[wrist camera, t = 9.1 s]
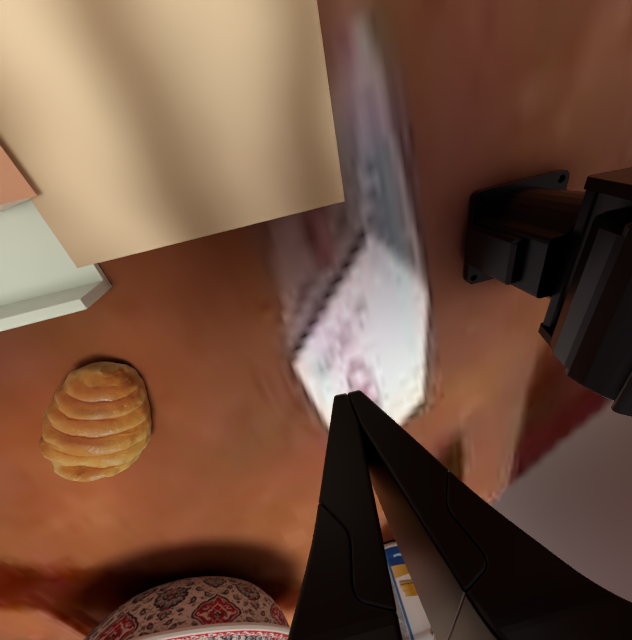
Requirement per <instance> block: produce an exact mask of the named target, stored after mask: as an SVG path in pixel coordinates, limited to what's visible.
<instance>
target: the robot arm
mask: <svg viewBox="0 0 632 640" xmlns="http://www.w3.org/2000/svg"><path fill="white" fill-rule="evenodd" d="M559 177H560V178H559ZM558 179H559V180H558ZM568 179H569V172H568V171H567V170H556V171H552V172H549V173H545V174H541V175H537V176H533V177H529V178H525V179H521V180H517V181H513V182H509V183H505V184H501V185H497V186H493V187H489V188H486V189H482V190H478V191H476V192H475V193H474V194H473V195H472V197H471V200H470V211H469V223H468V229H467V239H466V252H465V273H464V280H465V281H466V282H468V283H470V284H474V283H478V282H482V281H486V280H489V279H493V278H495V279H497V280H499V281H500V282H502V283H504V284H506V285H510V284H511V285H513V286H515V287H517V288H519V289H521V290H523V291H525V292H527V293H529V294H531V295H533V296H535V297H537V298H543V297H548V298H550V299H551V300H550V303H549V306H548V310H547V313H546V316H545V319H544V322H543V323H541V325H540V328H539V331H538V332H539V333H540V334H541V336H542V337H543V338H544V339H545V341H546V342H547V343H548V344H549V345H550V347H551V348H552V351H553V354H554V355H555V356H556V357H557V358H558V359H559V361H560V362H561V363H562V364H563V365H564V366H565V367H566V369H565V373H566V374H567V375H568V376H569V377H570V378H571V379H573V380H574V381H576V382H577V383H579V384H580V385H582V386H583V387H585V388H587V389H589V390H591V391H593V392H595V393H597V394H599V395H601V396H603V397H606V398H608V399H611V400H613V401H614V403H613V405H612V407H611V408H612V410H613V411H615V412H617V413H619V414H624V415H627V416H632V167H631V168H626V169H620V170H615V171H610V172H605V173H600V174H594V175H589V176H588V177H587V180H586V183H585V187H584V189H586V192H580V191H571V190H566V187H567V183H568ZM480 196H481V200H480V201H479V202H478V198H479V197H480ZM472 275H473V277H472V278H471V276H472ZM371 482H372V483H371ZM372 485H373V487H374V489H375V492H376V494H377V497H378V499H379V502H380V504H381V506H382V509H383V511H384V514H385V516H386V519H387V521H388V523H389V526H390V528H391V531H392V533H393V536H394V538H395V541H396V543H397V545H398V548H399V550H400V553H401V555H402V558H403V560H404V562H405V565H406V567H407V570H408V572H409V575H410V577H411V579H412V582H413V584H414V587H415V589H416V592H417V594H418V596H419V599H420V601H421V604H422V606H423V609H424V611H425V614H426V616H427V618H428V621H429V623H430V626H431V628H432V631H433V633H434V635H435V638H436V640H632V602H630V601H627V600H625V599H623V598H621V597H619V596H617V595H615V594H613V593H612V592H610V591H608V590H606V589H604V588H602V587H601V586H599V585H598V584H596V583H594V582H593V581H591V580H589V579H588V578H586V577H585V576H583V575H582V574H580V573H578V572H577V571H576V570H574V569H573V568H572V567H571V566H569V565H567V564H566V563H565V562H564V561H562V560H561V559H560V558H558V557H557V556H556V555H554V554H553V553H552V552H551V551H549V550H548V549H547V548H545V547H544V546H542V545H541V544H540V543H539V542H537V541H536V540H535V539H533V538H532V537H531V536H529V535H528V534H526V533H525V532H524V531H523V530H521V529H520V528H519V527H517V526H516V525H515V524H513V523H512V522H511V521H509V520H508V519H507V518H505V517H504V516H503V515H502V514H500V513H499V512H498V511H497V510H495V509H494V508H493V507H491V506H490V505H489V504H488V503H486V502H485V501H484V500H482V499H481V498H480V497H479V496H478V495H477V494H476V493H474V492H473V491H472V490H471V489H470V488H469V487H467V486H466V485H465V484H464V483H463V482H462V481H461V480H459V479H458V478H457V477H456V476H455V475H454V474H453V473H452V472H450V471H448V469H447V468H446V467H445V466H444V465H443V464H442V463H440V462H439V461H438V460H437V459H436V458H435V457H434V456H433V455H432V454H430V453H429V452H428V451H427V450H426V449H425V448H424V447H423V446H422V445H420V444H419V443H418V442H417V441H416V440H415V439H414V438H413V437H412V436H411V435H409V434H408V433H407V432H406V431H405V430H404V429H403V428H402V427H401V426H399V425H398V424H397V423H396V422H395V421H394V420H393V419H392V418H391V417H389V416H388V415H387V414H386V413H385V412H384V411H383V410H382V409H381V408H379V407H378V406H377V405H376V404H375V403H374V402H373V401H372V400H371V399H369V398H368V397H367V396H366V395H365V394H364V393H363V392H362V391H360V390H358V391H353V392H349V393H348V395H347V394H346V393H344V394H340V395H336V396H335V397H334V402H333V408H332V415H331V422H330V429H329V436H328V443H327V450H326V456H325V463H324V470H323V477H322V484H321V491H320V497H319V505H318V510H317V517H316V523H315V529H314V534H313V540H312V545H311V549H310V554H309V558H308V562H307V567H306V571H305V575H304V579H303V582H302V586H301V590H300V594H299V598H298V601H297V605H296V609H295V613H294V617H293V620H292V624H291V628H290V632H289V636H288V639H287V640H403V638H402V633H401V628H400V623H399V618H398V615H397V608H396V603H395V598H394V593H393V588H392V583H391V578H390V573H389V568H388V563H387V558H386V553H385V548H384V543H383V538H382V533H381V528H380V523H379V518H378V513H377V508H376V503H375V498H374V493H373V488H372Z"/></svg>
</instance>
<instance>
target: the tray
mask: <svg viewBox="0 0 632 640" xmlns="http://www.w3.org/2000/svg"><path fill="white" fill-rule="evenodd" d="M111 287H112V285H111V284H110V282H109V281H108V279H107V277H106V276H105V274H104V273H103V271H102V270H101V268H100V267H99V265H98V263H96V264H92V265H88V266H84V267H80V268H77V267H76V265H75V264H74V262H73V261H72V259H71V258H70V257H69V255H68V254H67V252H66V251H65V249H64V248H63V246H62V245H61V244H60V242H59V241H58V239H57V238H56V236H55V235H54V233H53V232H52V230H51V229H50V228H49V226H48V225H47V223H46V222H45V220H44V219H43V217H42V216H41V214H40V213H39V212H38V210H37V209H36V207H35V206H34V204H33V203H32V201H31V200H30V199H28V200H26V201H24V202H22V203H19V204H17V205H15V206H12V207H10V208H8V209H6V210H3V211H1V212H0V331H4V330H8V329H11V328H15V327H19V326H23V325H27V324H31V323H35V322H39V321H43V320H46V319H50V318H54V317H58V316H62V315H66V314H70V313H74V312H78V311H82V310H85V309H88V308H89V307H90V306H91V305H92V304H93V303H94V302H96V301H97V300H98V299H99V298H100V297H101V296H102V295H103V294H105V293H106V292H107V291H108V290H109V289H110V288H111Z"/></svg>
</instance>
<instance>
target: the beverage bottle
mask: <svg viewBox="0 0 632 640" xmlns="http://www.w3.org/2000/svg"><path fill="white" fill-rule="evenodd" d="M384 548H385V553H386V558H387V563H388V568H389V573H390V578H391V583H392V588H393V593H394V598H395V603H396V608H397V615H398V618H399V623H400V628H401V633H402V638H403V640H436V638H435V635H434V633H433V631H432V628H431V626H430V623H429V621H428V618H427V616H426V614H425V611H424V609H423V606H422V604H421V601H420V599H419V596H418V594H417V592H416V589H415V587H414V584H413V582H412V579H411V577H410V575H409V572H408V570H407V567H406V565H405V562H404V560H403V558H402V555H401V553H400V550H399V548H398V545H397V543H396V541H394V542H390V543H387V544H384Z"/></svg>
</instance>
